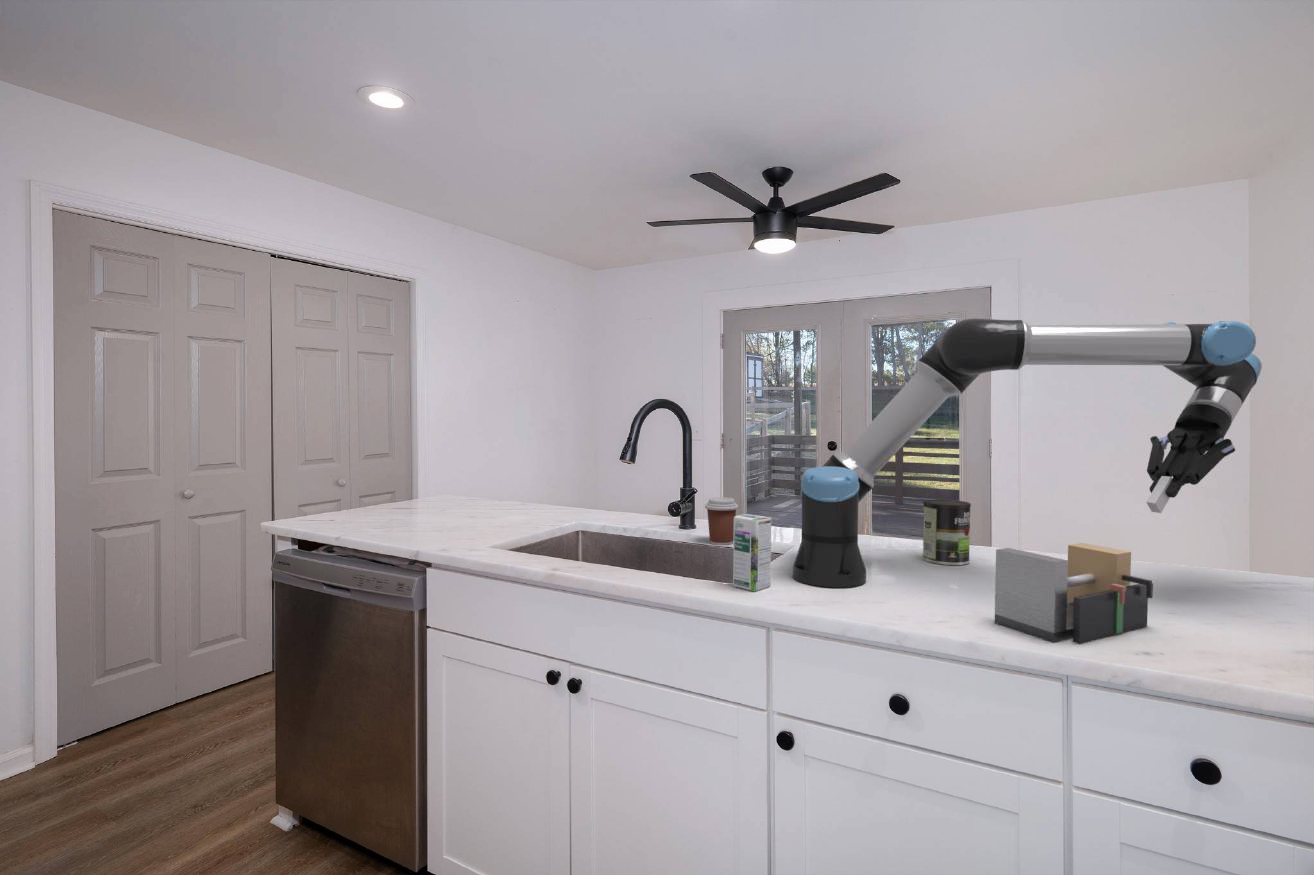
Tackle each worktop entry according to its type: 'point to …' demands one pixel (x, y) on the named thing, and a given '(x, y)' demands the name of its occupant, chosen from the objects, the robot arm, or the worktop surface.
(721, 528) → the coffee cup
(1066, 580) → the stand
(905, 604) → the worktop surface
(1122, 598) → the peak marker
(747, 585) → the syrup box
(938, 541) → the coffee can
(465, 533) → the worktop surface
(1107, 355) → the robot arm
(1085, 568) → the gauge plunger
